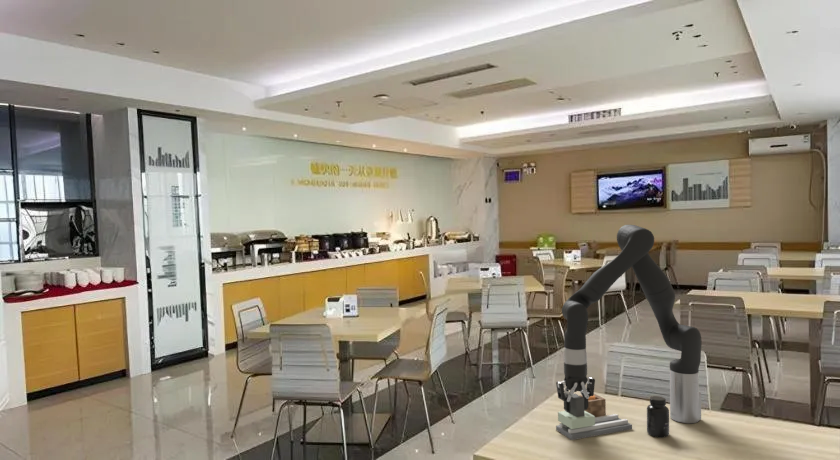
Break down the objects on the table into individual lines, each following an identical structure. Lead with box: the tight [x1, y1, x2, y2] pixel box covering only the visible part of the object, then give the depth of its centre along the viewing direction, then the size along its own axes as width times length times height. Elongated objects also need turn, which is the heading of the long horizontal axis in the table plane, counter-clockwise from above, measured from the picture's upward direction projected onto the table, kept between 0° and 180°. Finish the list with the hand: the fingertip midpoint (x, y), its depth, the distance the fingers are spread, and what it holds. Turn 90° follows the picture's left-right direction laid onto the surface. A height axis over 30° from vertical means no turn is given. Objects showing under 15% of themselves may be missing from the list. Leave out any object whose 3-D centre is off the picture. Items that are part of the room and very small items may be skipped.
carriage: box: [557, 393, 595, 429], centre depth 184 cm, size 9×8×9 cm
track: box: [555, 413, 633, 441], centre depth 186 cm, size 24×9×3 cm, turn 109°
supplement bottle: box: [646, 395, 670, 438], centre depth 181 cm, size 7×7×12 cm
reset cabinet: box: [578, 393, 607, 417], centre depth 196 cm, size 9×7×8 cm
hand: (576, 410), depth 184 cm, fingers open, 6 cm apart
